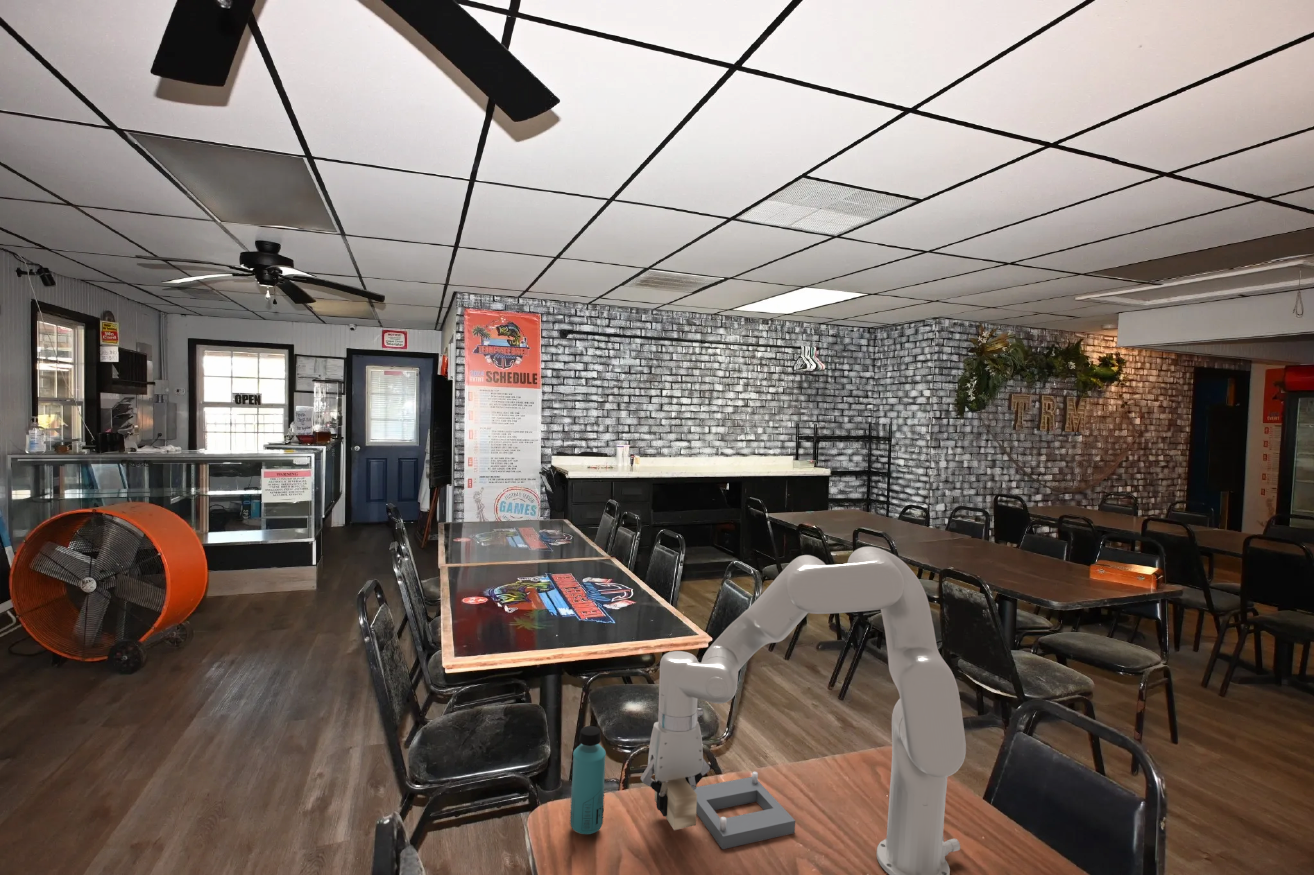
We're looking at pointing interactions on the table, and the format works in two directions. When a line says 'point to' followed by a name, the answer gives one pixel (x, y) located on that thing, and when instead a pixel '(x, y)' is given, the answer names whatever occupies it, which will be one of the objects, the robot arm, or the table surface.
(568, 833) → the table surface
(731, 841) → the slot board
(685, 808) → the key block
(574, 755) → the beverage bottle
